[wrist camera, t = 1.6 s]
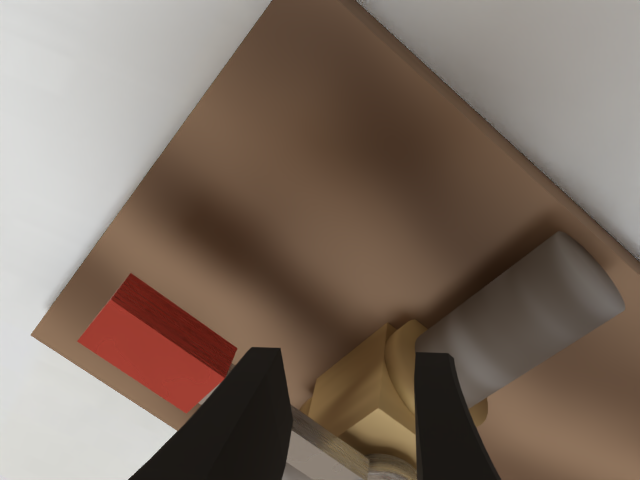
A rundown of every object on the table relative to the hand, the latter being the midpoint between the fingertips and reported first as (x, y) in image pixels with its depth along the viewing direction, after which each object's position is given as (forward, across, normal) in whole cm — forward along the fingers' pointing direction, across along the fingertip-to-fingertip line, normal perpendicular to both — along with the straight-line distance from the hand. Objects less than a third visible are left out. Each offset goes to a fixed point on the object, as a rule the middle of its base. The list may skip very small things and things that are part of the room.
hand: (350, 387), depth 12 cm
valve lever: (+4, +3, +4) cm, 6 cm away
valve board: (+9, 0, +8) cm, 12 cm away
